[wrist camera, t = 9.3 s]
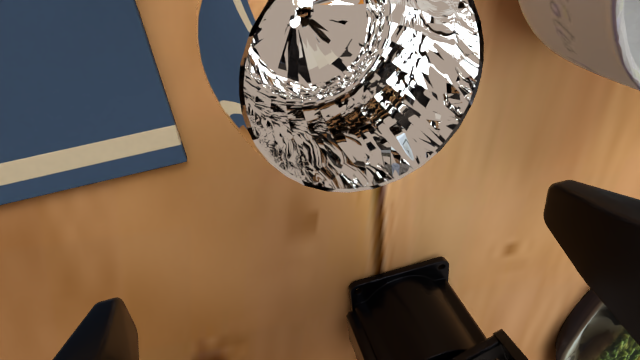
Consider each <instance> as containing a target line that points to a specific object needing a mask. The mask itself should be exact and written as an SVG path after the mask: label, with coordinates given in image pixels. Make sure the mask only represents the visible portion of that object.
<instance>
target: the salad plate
mask: <svg viewBox="0 0 640 360" xmlns="http://www.w3.org/2000/svg"><path fill="white" fill-rule="evenodd" d="M556 360H640V346H639V345H638V344H637V343H636V341H635V340H634V339H633V338H632V337H631V336H630V334H629V333H628V332H627V331H626V330H625V328H624V327H623V326H622V325H621V324H620V322H619V321H618V320H617V319H616V318H615V317H614V315H613V314H612V313H611V312H610V311H609V309H608V308H607V307H606V306H605V305H604V303H603V302H602V301H601V300H600V299H599V298H598V296H597V295H596V294H595V293H594V292H593V290H592V289H591V290H590V291H589V292H588V293H587V294H586V295H585V296H584V297H583V299H582V300H581V301H580V302H579V303H578V304H577V305H576V307H575V308H574V309H573V311H572V312H571V314H570V315H569V316H568V318H567V319H566V321H565V323H564V324H563V326H562V328H561V330H560V333H559V335H558V338H557V341H556Z"/></svg>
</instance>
